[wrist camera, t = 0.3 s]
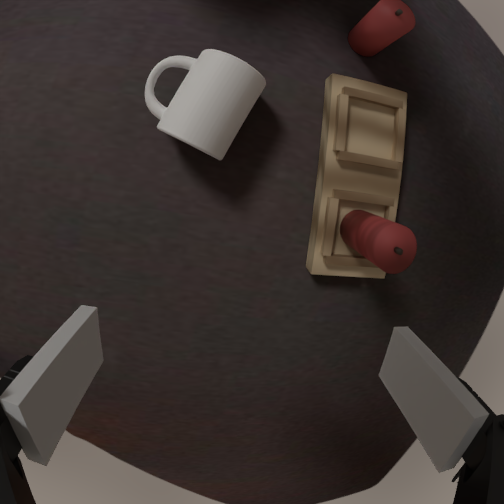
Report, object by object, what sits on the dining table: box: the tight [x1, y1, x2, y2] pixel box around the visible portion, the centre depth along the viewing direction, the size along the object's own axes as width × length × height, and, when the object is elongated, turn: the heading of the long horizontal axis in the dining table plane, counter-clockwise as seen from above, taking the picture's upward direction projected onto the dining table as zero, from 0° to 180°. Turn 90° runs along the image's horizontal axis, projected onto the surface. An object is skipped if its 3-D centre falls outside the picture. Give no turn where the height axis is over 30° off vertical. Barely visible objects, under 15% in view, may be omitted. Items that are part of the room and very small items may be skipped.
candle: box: [348, 0, 415, 57], centre depth 28 cm, size 5×5×11 cm
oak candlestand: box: [306, 74, 417, 279], centre depth 32 cm, size 24×10×14 cm, turn 175°
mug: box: [145, 49, 266, 160], centre depth 31 cm, size 12×10×8 cm
